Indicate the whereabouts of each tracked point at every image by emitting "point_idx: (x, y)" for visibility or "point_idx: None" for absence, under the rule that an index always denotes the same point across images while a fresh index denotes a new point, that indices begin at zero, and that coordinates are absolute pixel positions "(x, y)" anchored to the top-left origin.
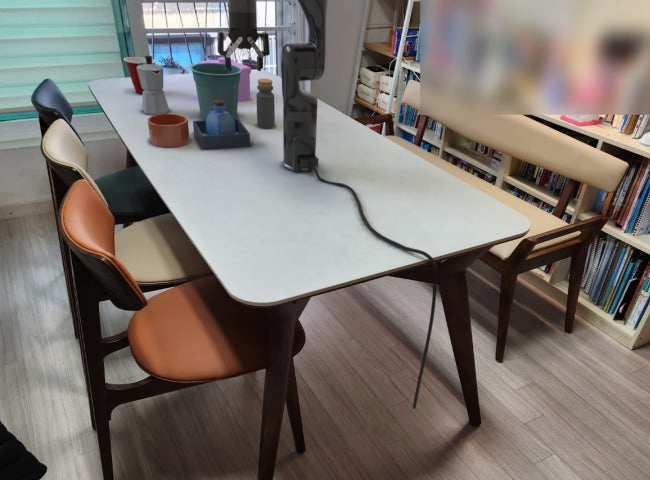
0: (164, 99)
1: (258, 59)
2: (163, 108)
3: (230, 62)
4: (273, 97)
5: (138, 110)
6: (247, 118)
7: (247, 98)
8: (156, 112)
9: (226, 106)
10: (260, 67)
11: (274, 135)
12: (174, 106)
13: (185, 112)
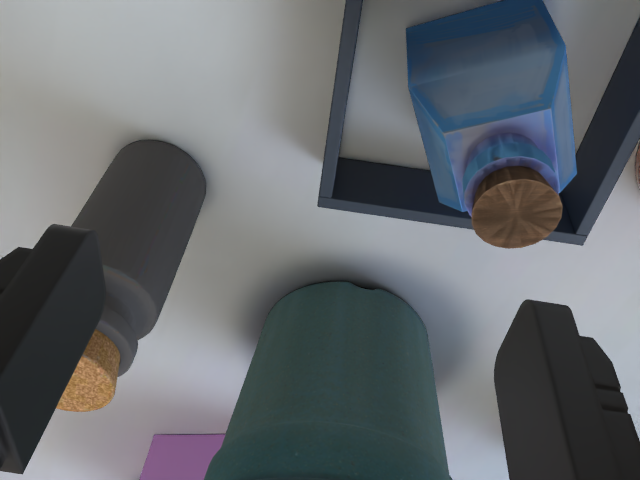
0: None
1: (8, 375)
2: None
3: (571, 409)
4: None
5: None
6: (225, 287)
7: (164, 441)
8: None
9: (331, 334)
10: (40, 258)
11: (146, 31)
12: (466, 454)
13: (458, 404)
